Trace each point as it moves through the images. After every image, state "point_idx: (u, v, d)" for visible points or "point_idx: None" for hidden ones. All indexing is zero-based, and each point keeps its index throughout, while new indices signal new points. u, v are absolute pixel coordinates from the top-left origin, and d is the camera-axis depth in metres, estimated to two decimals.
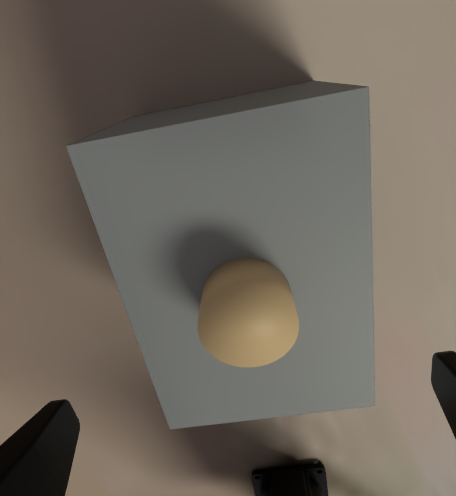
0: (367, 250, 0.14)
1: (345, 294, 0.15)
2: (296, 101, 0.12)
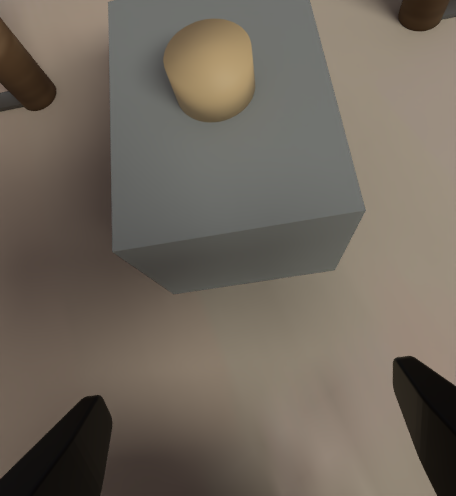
0: (317, 44, 0.17)
1: (304, 80, 0.16)
2: None
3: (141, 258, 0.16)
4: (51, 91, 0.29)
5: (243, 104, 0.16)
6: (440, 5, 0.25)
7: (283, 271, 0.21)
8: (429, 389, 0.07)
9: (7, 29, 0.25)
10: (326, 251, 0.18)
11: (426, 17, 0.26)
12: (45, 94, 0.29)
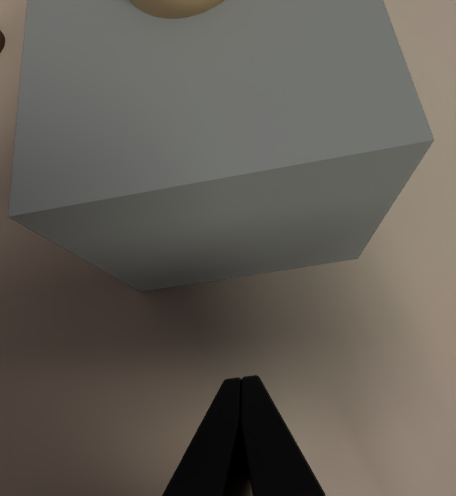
0: None
1: None
2: None
3: (65, 231, 0.10)
4: None
5: None
6: None
7: (288, 259, 0.15)
8: (251, 410, 0.08)
9: None
10: (351, 225, 0.12)
11: None
12: None
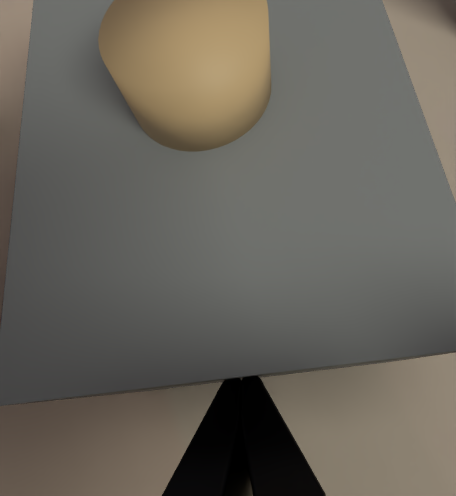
0: (379, 15, 0.09)
1: (360, 76, 0.09)
2: None
3: None
4: None
5: (250, 119, 0.09)
6: None
7: (308, 371, 0.14)
8: (251, 410, 0.08)
9: None
10: (385, 361, 0.11)
11: None
12: None
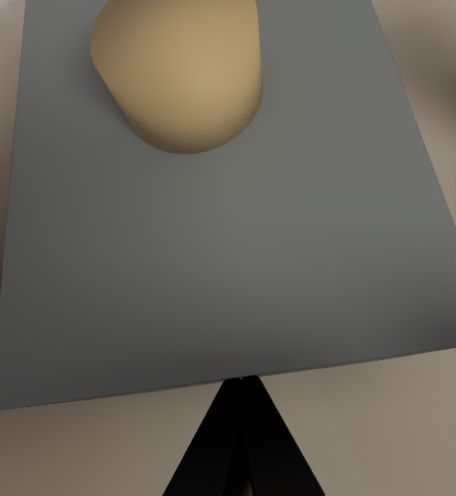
0: (369, 16, 0.10)
1: (350, 77, 0.09)
2: None
3: (59, 402, 0.09)
4: None
5: (242, 121, 0.09)
6: None
7: None
8: (250, 410, 0.08)
9: None
10: None
11: None
12: None
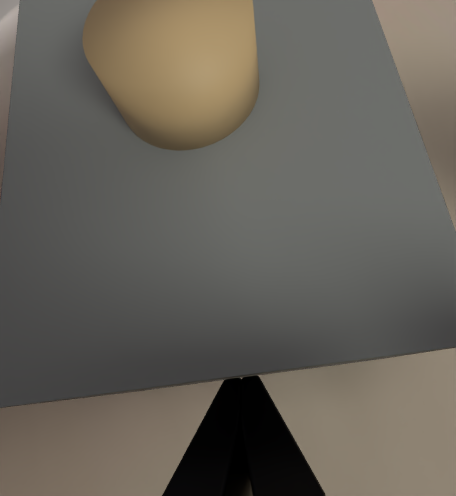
0: (368, 11, 0.09)
1: (349, 73, 0.09)
2: None
3: None
4: None
5: (238, 117, 0.09)
6: None
7: None
8: (251, 410, 0.08)
9: None
10: None
11: None
12: None
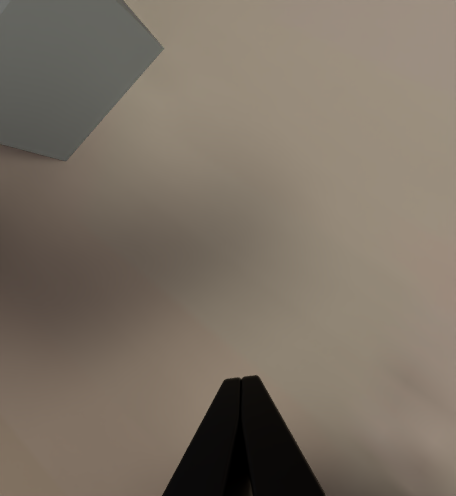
0: None
1: None
2: None
3: None
4: None
5: None
6: None
7: (116, 76, 0.22)
8: (251, 410, 0.08)
9: None
10: (110, 22, 0.19)
11: None
12: None
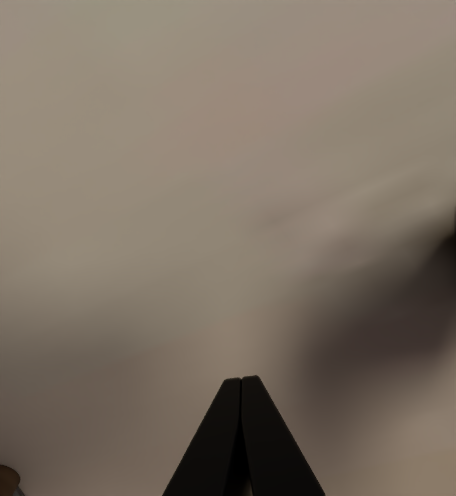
0: None
1: None
2: None
3: None
4: None
5: None
6: None
7: None
8: (251, 410, 0.08)
9: None
10: None
11: None
12: None
